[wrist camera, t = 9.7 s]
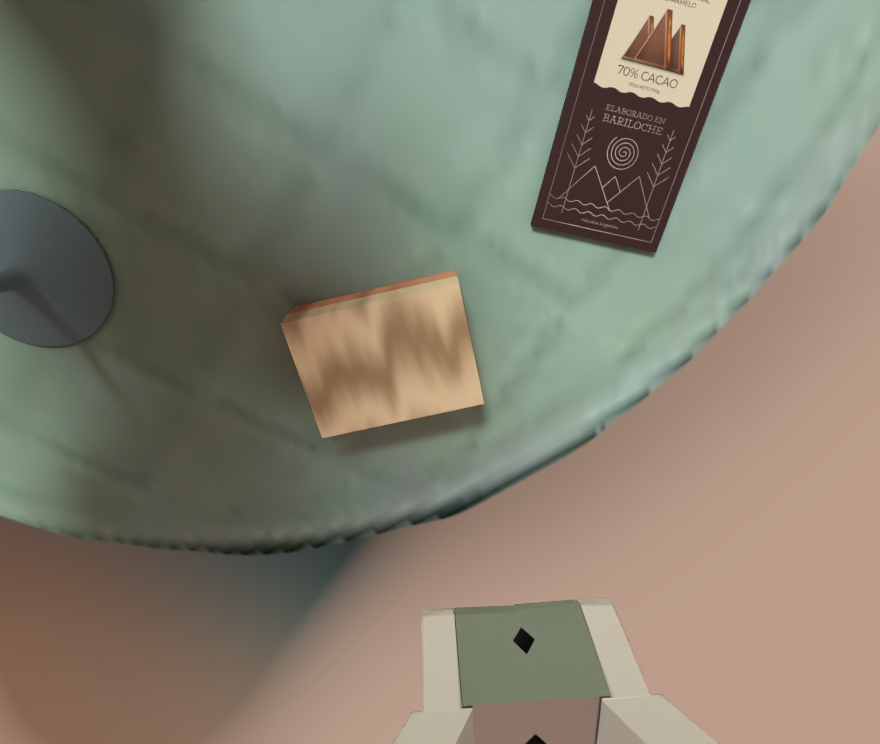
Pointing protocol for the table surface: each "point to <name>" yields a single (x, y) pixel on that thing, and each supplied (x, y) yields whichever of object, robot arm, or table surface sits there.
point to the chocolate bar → (634, 116)
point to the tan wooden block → (384, 354)
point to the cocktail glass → (49, 273)
